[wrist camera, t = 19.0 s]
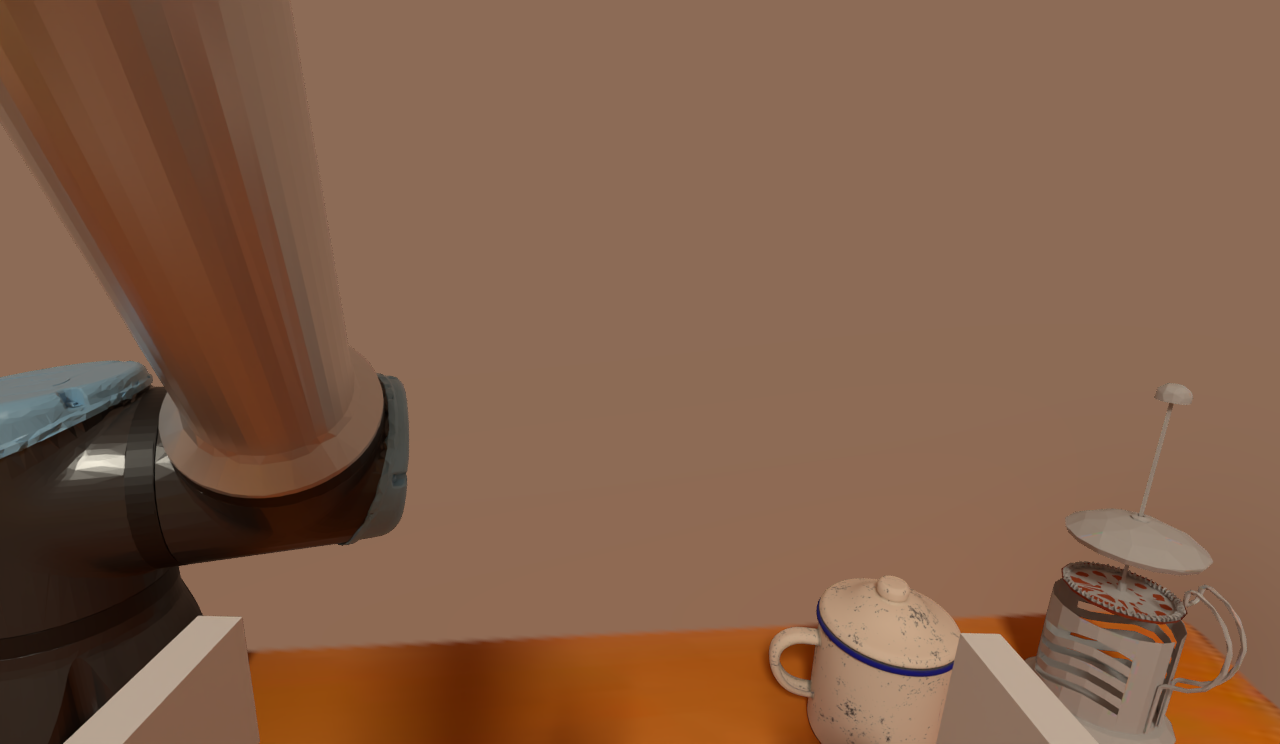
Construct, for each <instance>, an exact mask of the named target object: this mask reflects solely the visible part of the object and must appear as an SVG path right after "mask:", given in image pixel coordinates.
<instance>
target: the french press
mask: <svg viewBox="0 0 1280 744" xmlns="http://www.w3.org/2000/svg"><path fill="white" fill-rule="evenodd" d="M1155 398H1156V399H1158V400H1161V401H1164V402H1169V406H1168V410H1167V413H1166V417H1165V421H1164V425H1163V428H1162V432H1161V436H1160V440H1159V443H1158V447H1157V450H1156V454H1155V458H1154V461H1153V465H1152V469H1151V473H1150V476H1149V480H1148V483H1147V487H1146V491H1145V495H1144V498H1143V502H1142V505H1141V509H1140V513H1135V512H1131V511H1126V510H1122V509H1100V510H1088V511H1080V512H1075V513H1073V514H1071V515H1069V516H1067V517H1066V527H1067V530H1068V532H1069V533H1070V534H1071V535H1072V536H1073V537H1074V538H1075V539H1076V540H1077V541H1078V542H1079V543H1081V544H1083V545H1084V546H1086V547H1088V548H1089V549H1091V550H1093V551H1095V552H1097V553H1098V554H1100V555H1103V556H1105V557H1108V558H1110V559H1113V560H1115V561H1118V562H1120V563H1123V564H1125V568H1124V569H1120V567H1118V568H1115V567H1114V566H1112V567H1111V566H1109V564H1107V565H1105V564H1099V563H1096V564H1095V563H1094V562H1092V563H1090V562H1086V561H1085V562H1076V563H1070V564H1068V565H1066V566H1065V567H1063V568H1062V579H1060V580H1058V581H1057V582H1055V584H1054V587H1053V591H1052V595H1051V598H1050V602H1049V606H1048V610H1047V614H1046V618H1045V622H1044V626H1043V631H1042V635H1041V639H1040V643H1039V647H1038V651H1037V656H1035V657H1030V658H1027V659H1026V660H1025V662H1026V663H1027V665H1028V666H1029V667H1030V668H1031V669H1032V670H1033V671H1034V672H1035V673H1036V675H1037V676H1038V677H1039V678H1040V679H1041V680H1042V681H1043V682H1044V683H1045V685H1046V686H1047V687H1048V688H1049V689H1050V690H1051V691H1052V692H1053V693H1054V695H1055V696H1056V697H1057V698H1058V699H1059V700H1060V701H1061V702H1062V703H1063V705H1064V706H1065V707H1066V708H1067V709H1068V710H1069V711H1070V712H1071V713H1072V715H1073V716H1074V717H1075V718H1076V719H1077V720H1078V721H1079V722H1080V723H1081V724H1082V726H1083V727H1084V728H1085V729H1086V730H1087V731H1088V732H1089V733H1090V734H1091V736H1092V737H1093V738H1094V739H1095V740H1096V741H1097V742H1098V743H1099V744H1174V743H1175V742H1176V739H1175V735H1174V732H1173V728H1172V725H1171V722H1170V721H1169V720H1168V718H1167V717H1166V716H1165V713H1166V710H1167V707H1168V703H1169V700H1170V697H1171V694H1172V691H1173V690H1174V691H1179V692H1184V693H1197V692H1206V691H1208V690H1210V689H1211V688H1213V687H1215V686H1217V685H1220V684H1222V683H1224V682H1225V681H1227V680H1229V679H1230V678H1232V677H1233V675H1234V674H1235V673H1236V672H1237V671H1238V669H1239V667H1240V665H1241V663H1242V660H1243V659H1244V656H1245V654H1246V652H1247V648H1246V647H1247V646H1246V636H1245V633H1244V630H1243V627H1242V623H1241V619H1240V618H1239V617H1238V615H1237V614H1236V612H1235V611H1234V610H1233V608H1232V607H1231V605H1230V604H1229V603H1228V602H1227V601H1226V600H1225V599H1224V598H1223V597H1222V596H1221V595H1220V594H1219V593H1218V592H1217V591H1216V590H1215V589H1214V588H1213V587H1210V586H1207V585H1203V586H1200V587H1199V589H1198V592H1196V591H1193V590H1190V591H1187V592H1185V594H1184V599H1183V602H1182V601H1181V600H1180V599H1179V598H1177V597H1176V596H1175V595H1174V594H1173V593H1171V592H1170V591H1169V590H1167V589H1166V588H1163V587H1162V586H1161V585H1158V584H1157V583H1156V582H1155V583H1154V582H1153V581H1152V580H1149V579H1147V578H1144V577H1141V575H1140V576H1139V575H1136V573H1131V571H1130V570H1129V571H1128V568H1129V565H1130V566H1134V567H1137V568H1141V569H1145V570H1148V571H1152V572H1157V573H1165V574H1172V575H1191V574H1199V573H1201V572H1202V571H1204V570H1205V569H1206V568H1208V566H1210V565H1211V564H1212V563H1213V560H1212V559H1211V557H1210V555H1209V553H1208V552H1207V551H1206V550H1205V549H1204V548H1203V547H1202V546H1200V545H1199V544H1198V543H1197V542H1196V541H1195V540H1193V539H1192V538H1191V537H1190V536H1189V535H1188V534H1186V533H1184V532H1182V531H1180V530H1178V529H1175V528H1173V527H1171V526H1169V525H1167V524H1165V523H1163V522H1161V521H1159V520H1157V519H1155V518H1153V517H1151V516H1148V515H1144V514H1143V513H1144V509H1145V506H1146V502H1147V499H1148V495H1149V491H1150V487H1151V484H1152V480H1153V477H1154V473H1155V469H1156V465H1157V462H1158V459H1159V455H1160V451H1161V448H1162V443H1163V440H1164V436H1165V433H1166V429H1167V426H1168V422H1169V418H1170V415H1171V411H1172V407H1173V404H1174V403H1175V404H1183V405H1188V404H1191V402H1192V399H1193V396H1192V392H1191V391H1189V390H1188V389H1187V388H1186V387H1185V386H1184V385H1180V384H1172V383H1167V384H1165V385H1163V386H1160V387H1158V389H1157V391H1156V394H1155ZM1205 589H1207V590H1210V591H1211V592H1212V593H1213V594H1214V595H1215V596H1217V597H1218V598H1219V599H1220V600H1221V601H1222V602H1223V603H1224V604H1225V606H1226V607H1227V609H1228V610H1229V612H1230V613H1231V615H1232V616H1233V618H1234V619H1235V622H1236V625H1237V628H1238V632H1239V635H1240V641H1241V649H1240V652H1239V655H1238V658H1237V661H1236V664H1235V666H1234V667H1233V668H1232V669H1231V670H1230V671H1229V672H1228V669H1229V666H1230V662H1231V659H1232V656H1233V654H1232V642H1231V639H1230V636H1229V633H1228V630H1227V627H1226V625H1225V623H1224V622H1223V620H1222V619H1221V618H1220V616H1219V614H1218V612H1217V611H1216V610H1215V608H1214V607H1213V606H1212V605H1211V604H1210V603H1209V602H1208V601H1207V600H1206V599H1205V598H1204V597H1203V596H1202V595H1203V593H1204V591H1205ZM1191 594H1192V595H1195V596H1196V598H1195V600H1192V601H1190V602H1188V601H1189V598H1190V596H1191ZM1200 600H1201V601H1202V602H1204V604H1205V605H1206V606H1207V607H1208V608H1210V609H1211V611H1212V613H1213V614H1214V615H1215V617H1216V618H1217V620H1218V622H1219V623H1220V625H1221V626H1222V629H1223V632H1224V635H1225V639H1226V645H1227V656H1226V659H1225V662H1224V665H1223V667H1222V669H1221V672H1220V674H1219V676H1218V677H1217V678H1216V679H1214V680H1213V681H1208V682H1198V681H1193V680H1188V679H1183V678H1177V679H1174V680H1173V678H1174V675H1175V672H1176V668H1177V665H1178V662H1179V658H1180V655H1181V652H1182V649H1183V645H1184V642H1185V639H1186V635H1187V632H1186V628H1185V625H1184V623H1183V622H1182V621H1181V620H1182V619H1183V618H1184V617H1185V616H1186V614H1187V610H1186V608H1185V606H1186V607H1189V606H1192V605H1194V604H1196V603H1198V602H1199V601H1200ZM1078 601H1082V602H1086V603H1089V604H1093V605H1095V606H1097V607H1100V608H1102V609H1104V610H1106V611H1108V612H1110V613H1112V614H1115V615H1109V614H1102V613H1096V612H1090V611H1087V610H1084V609H1081V608H1078V607H1077V605H1078ZM1079 616H1080V617H1083V618H1086V619H1091V620H1097V621H1103V622H1111V623H1123V624H1135V625H1138V626H1140V627H1143V628H1145V629H1148V630H1150V631H1153V632H1154V633H1155V634H1156V635H1157V636H1158V637H1159V638H1160V639H1161V640H1162V641H1163V642H1164V643H1165V644H1160V643H1155V641H1154V640H1153V639H1151V638H1149V637H1147V636H1144V635H1142V634H1140V633H1138V632H1135V631H1127V630H1117V629H1105V628H1100V627H1098V626H1096V625H1094V624H1092V623H1090V622H1088V621H1086V620H1084V619H1082V618H1080V617H1079ZM1157 624H1166V625H1167V626H1168V627H1169V628H1170V629H1171V630H1172V633H1173V635H1174V637H1175V639H1176V641H1177V644H1176V647H1175V649H1174V645H1175V643H1172V642H1171V640H1170V638H1169V637H1168V636H1167V635H1166V634H1165V633H1164V632H1163V631H1162V629H1161V628H1160V627H1159V626H1158V625H1157ZM1071 632H1073V633H1077V634H1080V635H1083V636H1086V637H1089V638H1092V639H1095V640H1097V641H1092V640H1086V639H1082V638H1079V637H1075V636H1072V635H1070V633H1071ZM1068 648H1069V649H1068ZM1071 649H1073V650H1071ZM1097 649H1099V650H1107V651H1116V652H1119V653H1121V654H1123V655H1124V656H1126V657H1127V658H1129V659H1131V660H1132V661H1133V662H1131V661H1129V660H1126V659H1119V658H1112V657H1110V656H1108V655H1106V654H1104V653H1103V652H1101V651H1099V650H1097ZM1074 650H1076V651H1074ZM1077 651H1078V652H1077ZM1080 652H1081V653H1080ZM1171 657H1172V660H1171V663H1169V661H1170V658H1171ZM1166 671H1167V676H1166V680H1165V674H1166ZM1227 672H1228V673H1227ZM1177 682H1180V683H1185V684H1191V685H1196V686H1201V687H1202V688H1196V689H1185V688H1181V687H1176V686H1174V685H1175V684H1176V683H1177ZM1203 686H1204V687H1203ZM1162 689H1163V690H1162ZM1161 692H1162V693H1161Z"/></svg>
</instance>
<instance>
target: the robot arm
mask: <svg viewBox="0 0 1280 744" xmlns="http://www.w3.org/2000/svg"><path fill="white" fill-rule="evenodd" d="M0 123H1V124H2V126H3V127H4V129H5V131H6V132H7V134H8V135H9V137H10V139H11V141H12V142H13V144H14V145H15V147H16V149H17V150H18V152H19V153H20V155H21V157H22V158H23V160H24V161H25V163H26V165H27V166H28V168H29V170H30V171H31V173H32V174H33V176H34V177H35V179H36V181H37V182H38V184H39V186H40V187H41V189H42V190H43V192H44V194H45V195H46V197H47V199H48V200H49V202H50V203H51V205H52V206H53V208H54V210H55V211H56V213H57V215H58V216H59V218H60V219H61V221H62V223H63V224H64V226H65V228H66V229H67V231H68V232H69V234H70V236H71V237H72V239H73V241H74V242H75V244H76V245H77V247H78V249H79V250H80V252H81V253H82V255H83V257H84V258H85V260H86V261H87V263H88V264H89V266H90V268H91V270H92V271H93V273H94V274H95V276H96V278H97V279H98V280H99V282H100V284H101V286H102V287H103V289H104V291H105V292H106V294H107V295H108V297H109V299H110V300H111V302H112V303H113V305H114V307H115V308H116V310H117V312H118V313H119V315H120V316H121V318H122V319H123V321H124V323H125V324H126V326H127V328H128V329H129V331H130V332H131V334H132V336H133V337H134V339H135V341H136V342H137V344H138V345H139V347H140V349H141V350H142V352H143V353H144V355H145V357H146V358H147V360H148V361H149V363H150V365H151V366H152V368H153V370H154V371H155V373H156V374H157V376H158V378H159V379H160V381H161V382H162V384H163V386H164V387H153V386H152V385H151V383H152V381H153V379H152V375H151V374H149V373H148V371H147V369H146V368H145V366H144V365H142V364H140V363H138V362H134V361H127V362H121V361H100V362H90V363H83V364H82V363H81V364H74V365H66V366H60V367H54V368H48V369H42V370H36V371H30V372H25V373H20V374H15V375H10V376H5V377H0V744H259V742H260V739H259V732H258V725H257V718H256V710H255V703H254V696H253V689H252V682H251V675H250V668H249V660H248V653H247V647H246V639H245V632H244V626H243V618H242V617H229V616H203V615H202V613H201V611H200V608H199V606H198V604H197V602H196V600H195V599H194V597H193V595H192V594H191V592H190V591H189V589H188V588H187V586H186V585H185V583H184V582H183V580H182V579H181V576H180V571H179V566H181V565H188V564H195V563H202V562H208V561H216V560H223V559H231V558H238V557H245V556H252V555H258V554H266V553H273V552H281V551H288V550H295V549H302V548H309V547H316V546H324V545H331V544H338V545H342V546H343V545H349V544H353V543H355V542H357V541H358V540H361V539H366V538H372V537H377V536H382V535H384V534H387V533H389V532H390V531H392V530H393V529H394V528H395V527H396V525H397V524H398V523H399V521H400V519H401V517H402V514H403V510H404V505H405V499H406V491H407V490H406V489H407V476H406V472H407V467H408V460H409V422H408V407H407V399H406V392H405V389H404V386H403V384H402V383H401V382H400V381H399V380H398V379H397V378H396V377H393V376H384V375H382V374H378V373H376V372H375V370H374V369H373V367H372V366H371V364H370V363H369V362H368V361H367V360H366V359H365V358H364V357H363V356H362V355H361V354H360V353H359V352H357V351H356V350H355V349H354V348H352V347H350V346H349V345H348V340H347V334H346V328H345V322H344V317H343V311H342V304H341V298H340V292H339V287H338V281H337V275H336V269H335V263H334V257H333V252H332V245H331V239H330V233H329V227H328V221H327V215H326V210H325V203H324V198H323V191H322V186H321V180H320V174H319V168H318V162H317V156H316V150H315V144H314V138H313V132H312V126H311V121H310V114H309V108H308V102H307V97H306V91H305V85H304V79H303V73H302V67H301V62H300V55H299V49H298V43H297V37H296V31H295V25H294V19H293V14H292V7H291V1H290V0H0ZM936 744H1099V743H1098V742H1097V741H1096V740H1095V739H1094V738H1093V737H1092V736H1091V734H1090V733H1089V732H1088V731H1087V730H1086V729H1085V728H1084V727H1083V726H1082V724H1081V723H1080V722H1079V721H1078V720H1077V719H1076V718H1075V717H1074V716H1073V715H1072V713H1071V712H1070V711H1069V710H1068V709H1067V708H1066V707H1065V706H1064V705H1063V703H1062V702H1061V701H1060V700H1059V699H1058V698H1057V697H1056V696H1055V695H1054V693H1053V692H1052V691H1051V690H1050V689H1049V688H1048V687H1047V686H1046V685H1045V683H1044V682H1043V681H1042V680H1041V679H1040V678H1039V677H1038V676H1037V675H1036V673H1035V672H1034V671H1033V670H1032V669H1031V668H1030V667H1029V666H1028V665H1027V663H1026V662H1025V661H1024V660H1023V659H1022V658H1021V657H1020V656H1019V655H1018V653H1017V652H1016V651H1015V650H1014V649H1013V648H1012V647H1011V646H1010V645H1009V643H1008V642H1007V641H1006V640H1005V639H1004V638H1003V637H1002V636H1001V635H1000V634H972V633H960V637H959V642H958V646H957V651H956V655H955V660H954V664H953V669H952V674H951V678H950V683H949V687H948V692H947V696H946V701H945V706H944V710H943V715H942V719H941V724H940V728H939V733H938V738H937V742H936Z"/></svg>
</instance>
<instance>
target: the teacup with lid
mask: <svg viewBox="0 0 1280 744" xmlns="http://www.w3.org/2000/svg"><path fill="white" fill-rule="evenodd" d="M817 619H818V621H819V623H818V629H815V628H807V627H791V628H788V629H785V630H783V631H781V632H780V633H778V634H777V635H776V636H775V637H774V638H773V640H772V642H771V644H770V648H769V661H770V666H771V670H772V673H773V675H774V677H775V678H776V680H777V681H778V683H779V684H780V685H781V686H782V687H783V688H785V689H786V690H788V691H789V692H791V693H794V694H796V695H800V696H804V697H808V704H807V713H808V719H809V722H810V725H811V728H812V730H813V732H814V734H815V735H816V737H817V738H818V740H819V741H820V742H821V744H936V742H937V738H938V733H939V728H940V724H941V719H942V715H943V710H944V706H945V701H946V696H947V692H948V687H949V683H950V678H951V674H952V669H953V664H954V660H955V655H956V651H957V646H958V642H959V637H960V630H959V628H958V626H957V624H956V623H955V621H954V620H953V619H952V617H951V616H950V615H949V614H948V613H947V612H946V611H945V610H944V609H943V608H942V607H940V606H939V605H938V604H937V603H935V602H934V601H933V600H931V599H930V598H928V597H926V596H924V595H923V594H921V593H919V592H917V591H915V590H912V589H910V588H909V586H908V584H907V583H906V582H905V581H904V580H902V579H900V578H898V577H894V576H883V577H881V578H880V579H879V580H878V579H869V578H858V579H857V578H856V579H848V580H844V581H840V582H838V583H836V584H834V585H832V586H830V587H829V588H828V589H827V590H826V591H825V592H824V593H823V595H822V596H821V598H820V600H819V601H818V605H817ZM794 644H811V645H815V652H814V660H813V667H812V675H811V680H805V679H800V678H797V677H794V676H792V675H790V674H789V673H787V672H786V671H785V670H784V668H783V667H782V665H781V663H780V661H779V660H780V655H781V653H782V651H783V650H784V649H785V648H787V647H789V646H791V645H794Z"/></svg>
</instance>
